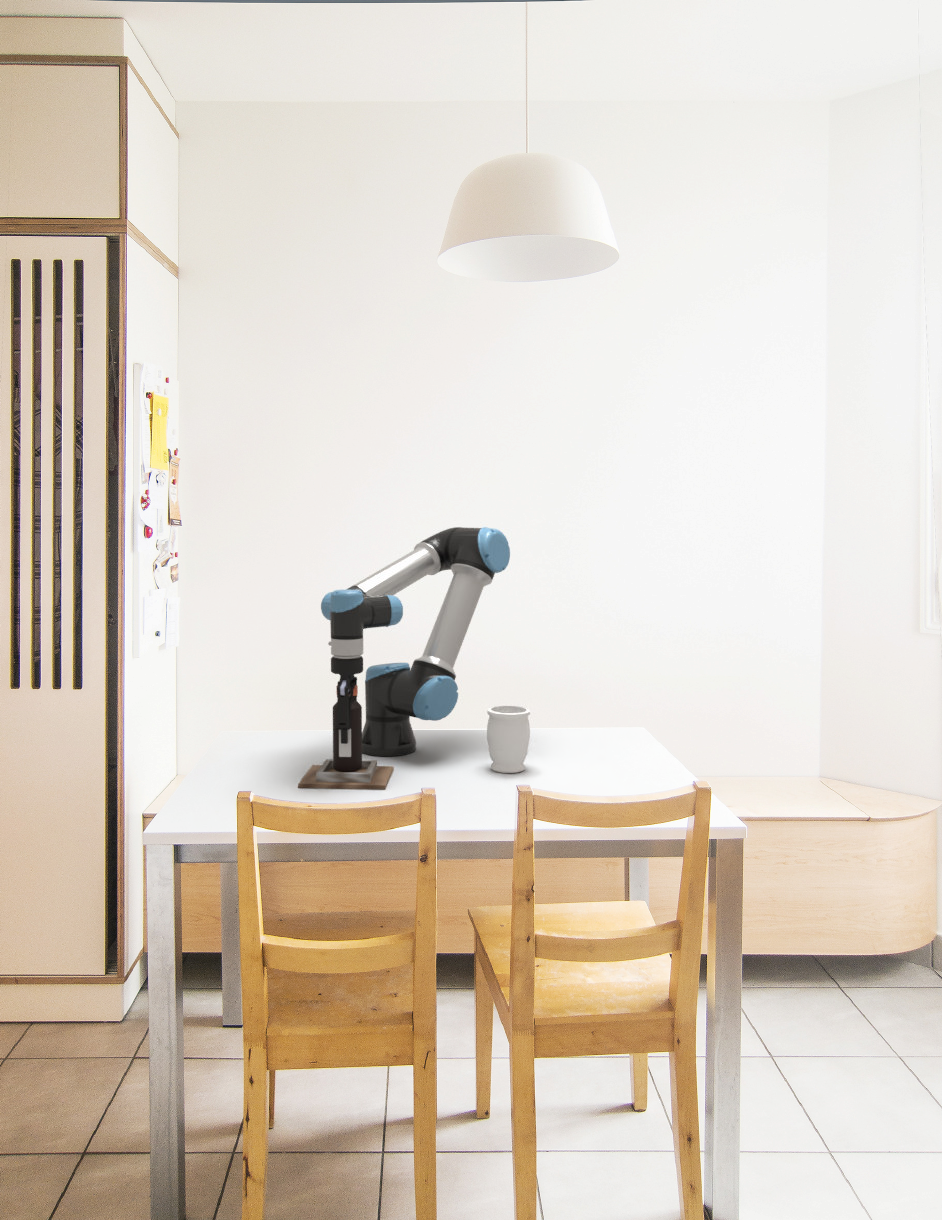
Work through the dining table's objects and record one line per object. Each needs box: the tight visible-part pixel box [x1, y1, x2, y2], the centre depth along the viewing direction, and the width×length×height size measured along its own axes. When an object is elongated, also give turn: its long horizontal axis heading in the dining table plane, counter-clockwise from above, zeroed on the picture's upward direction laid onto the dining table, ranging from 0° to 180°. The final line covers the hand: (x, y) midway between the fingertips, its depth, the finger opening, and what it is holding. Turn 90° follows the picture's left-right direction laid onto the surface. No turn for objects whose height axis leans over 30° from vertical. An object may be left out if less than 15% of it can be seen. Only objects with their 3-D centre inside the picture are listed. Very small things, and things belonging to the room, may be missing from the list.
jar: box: [486, 705, 531, 774], centre depth 227 cm, size 11×10×15 cm
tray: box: [297, 758, 395, 791], centre depth 218 cm, size 20×16×3 cm
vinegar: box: [332, 685, 363, 772], centre depth 217 cm, size 7×7×20 cm
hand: (347, 752), depth 218 cm, fingers closed on vinegar, 6 cm apart
